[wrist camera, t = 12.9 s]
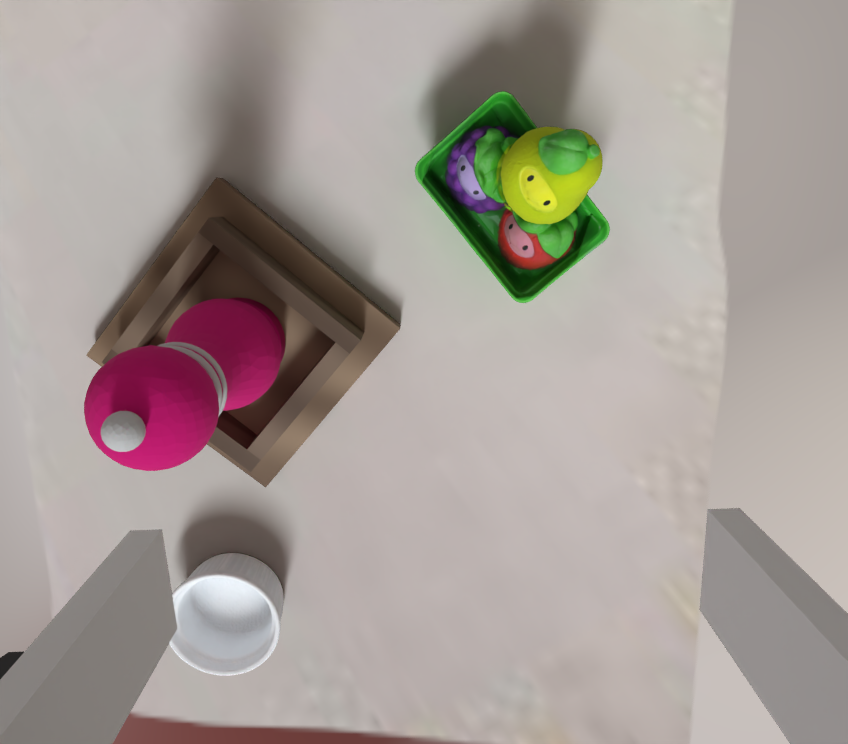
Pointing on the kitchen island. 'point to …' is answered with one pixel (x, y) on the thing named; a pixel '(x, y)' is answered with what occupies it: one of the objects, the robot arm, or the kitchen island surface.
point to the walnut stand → (281, 293)
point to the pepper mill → (183, 383)
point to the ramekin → (228, 615)
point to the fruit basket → (518, 193)
